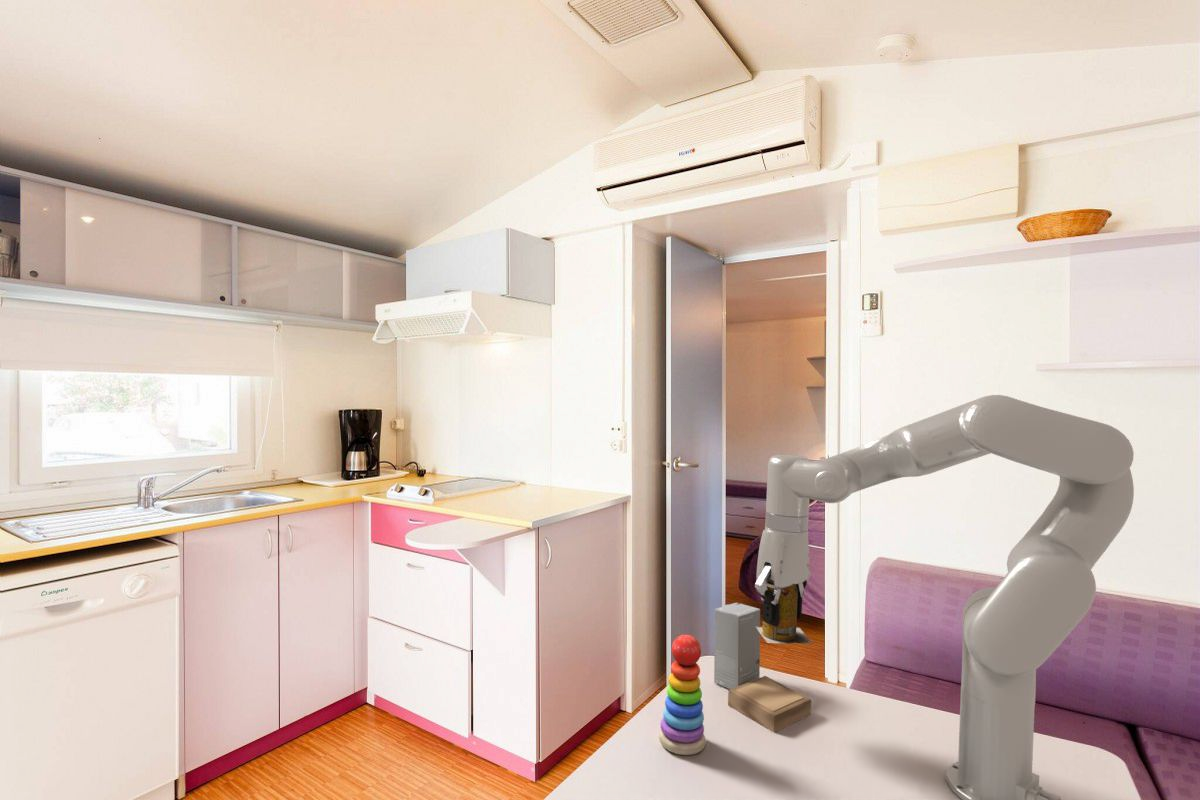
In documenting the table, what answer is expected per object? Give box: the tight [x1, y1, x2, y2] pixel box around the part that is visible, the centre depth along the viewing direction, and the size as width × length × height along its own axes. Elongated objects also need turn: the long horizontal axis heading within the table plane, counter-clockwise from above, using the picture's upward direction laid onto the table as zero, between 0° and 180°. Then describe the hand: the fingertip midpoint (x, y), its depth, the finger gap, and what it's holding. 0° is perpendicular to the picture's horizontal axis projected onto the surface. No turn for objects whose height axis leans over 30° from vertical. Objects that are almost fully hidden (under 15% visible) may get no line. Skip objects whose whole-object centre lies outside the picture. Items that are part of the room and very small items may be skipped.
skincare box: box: [713, 602, 761, 690], centre depth 125 cm, size 8×7×16 cm
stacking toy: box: [658, 634, 706, 756], centre depth 103 cm, size 8×8×19 cm
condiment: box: [756, 581, 814, 645], centre depth 109 cm, size 7×8×12 cm
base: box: [727, 675, 812, 733], centre depth 115 cm, size 11×11×3 cm
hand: (782, 618), depth 109 cm, fingers closed on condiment, 6 cm apart
